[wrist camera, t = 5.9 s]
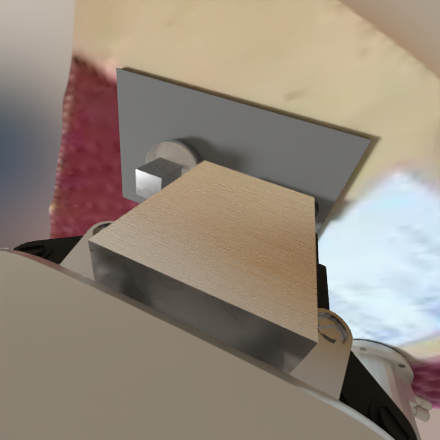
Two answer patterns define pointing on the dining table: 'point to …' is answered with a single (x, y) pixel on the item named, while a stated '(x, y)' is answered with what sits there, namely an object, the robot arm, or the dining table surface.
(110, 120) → the dining table surface
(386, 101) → the dining table surface
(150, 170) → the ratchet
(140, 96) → the tool mat
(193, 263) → the light grey block
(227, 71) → the dining table surface
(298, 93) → the dining table surface
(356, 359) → the robot arm
